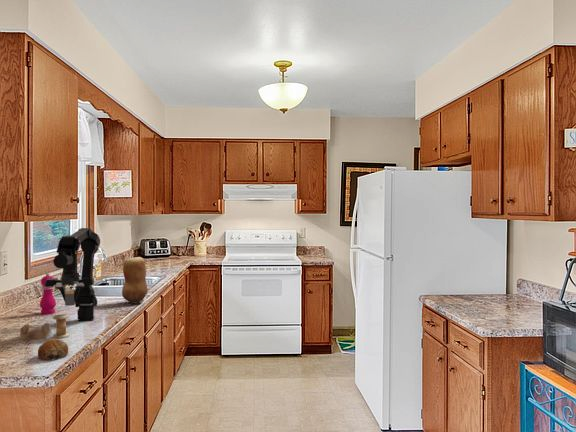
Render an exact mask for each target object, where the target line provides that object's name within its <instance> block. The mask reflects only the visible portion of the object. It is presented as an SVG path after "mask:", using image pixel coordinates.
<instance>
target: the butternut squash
mask: <svg viewBox="0 0 576 432" xmlns="http://www.w3.org/2000/svg"><path fill="white" fill-rule="evenodd" d="M146 268H147V267H146V262H145V259H144V258H143V257H141V256H137V257H135V256H134V257H130V258H126V259H125V260H124V261H123V265H122V272H123V278H124V283H123V285H122V289H121V290H122V291H121V295H122V297H123V299H124V300H126V301H127V302H128V303H130V304H139V303H141V302H143V301H144V299H145V297H146V296H147V294H148V292H149V291H148V290H149V288H148V285H147V281H146V279H147V278H146V277H147V269H146Z"/></svg>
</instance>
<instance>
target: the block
mask: <svg viewBox="0 0 576 432" xmlns="http://www.w3.org/2000/svg"><path fill="white" fill-rule="evenodd" d="M65 290H66V291H65V302H64V306H65V307H66V306H75V300H74V298H75V289H65Z"/></svg>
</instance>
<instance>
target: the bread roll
mask: <svg viewBox="0 0 576 432" xmlns="http://www.w3.org/2000/svg"><path fill="white" fill-rule="evenodd" d="M68 355H69V346H68V344H67V342H66V341H64V340H62V339H61V338H51V339H46V341H44V342H43V343H42V344H40V345H39V346H38V349H37V357H38V359H39V360H40V359H41V361H53V360H52V359H55V360H59V359H58V358H60V359H62V357H63V358H65V357H67V356H68Z"/></svg>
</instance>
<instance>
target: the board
mask: <svg viewBox="0 0 576 432" xmlns="http://www.w3.org/2000/svg"><path fill="white" fill-rule="evenodd" d="M51 333H52V327H51V326H50V323H46V322H45V323H44V324H43V325H42V326H41V327H30V324H27V323H25V324H24V325H23V326H22V327H20V340H21V341H22V340H37V339H38V340H39V339H40V340H41V339H46V338H47V337H48V336H50V335H49V334H51Z"/></svg>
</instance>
